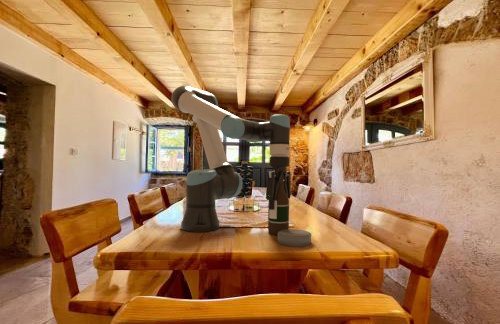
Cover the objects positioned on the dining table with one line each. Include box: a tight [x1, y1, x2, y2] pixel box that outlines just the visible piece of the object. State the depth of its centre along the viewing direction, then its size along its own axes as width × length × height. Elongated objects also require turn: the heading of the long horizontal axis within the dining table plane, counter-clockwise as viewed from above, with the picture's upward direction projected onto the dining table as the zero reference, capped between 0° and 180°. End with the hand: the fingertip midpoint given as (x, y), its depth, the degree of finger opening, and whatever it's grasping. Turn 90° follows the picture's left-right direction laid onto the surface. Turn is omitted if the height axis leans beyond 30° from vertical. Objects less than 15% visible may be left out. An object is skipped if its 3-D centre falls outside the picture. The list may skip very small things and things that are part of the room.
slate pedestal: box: [277, 228, 312, 248], centre depth 91 cm, size 11×11×3 cm
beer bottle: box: [267, 169, 290, 236], centre depth 103 cm, size 8×8×24 cm
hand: (278, 216), depth 103 cm, fingers closed on beer bottle, 8 cm apart
